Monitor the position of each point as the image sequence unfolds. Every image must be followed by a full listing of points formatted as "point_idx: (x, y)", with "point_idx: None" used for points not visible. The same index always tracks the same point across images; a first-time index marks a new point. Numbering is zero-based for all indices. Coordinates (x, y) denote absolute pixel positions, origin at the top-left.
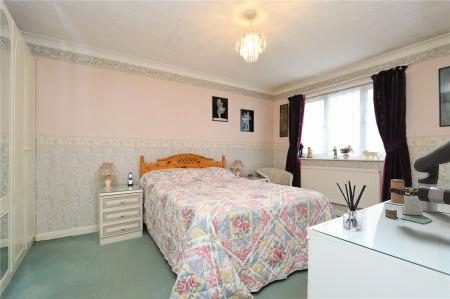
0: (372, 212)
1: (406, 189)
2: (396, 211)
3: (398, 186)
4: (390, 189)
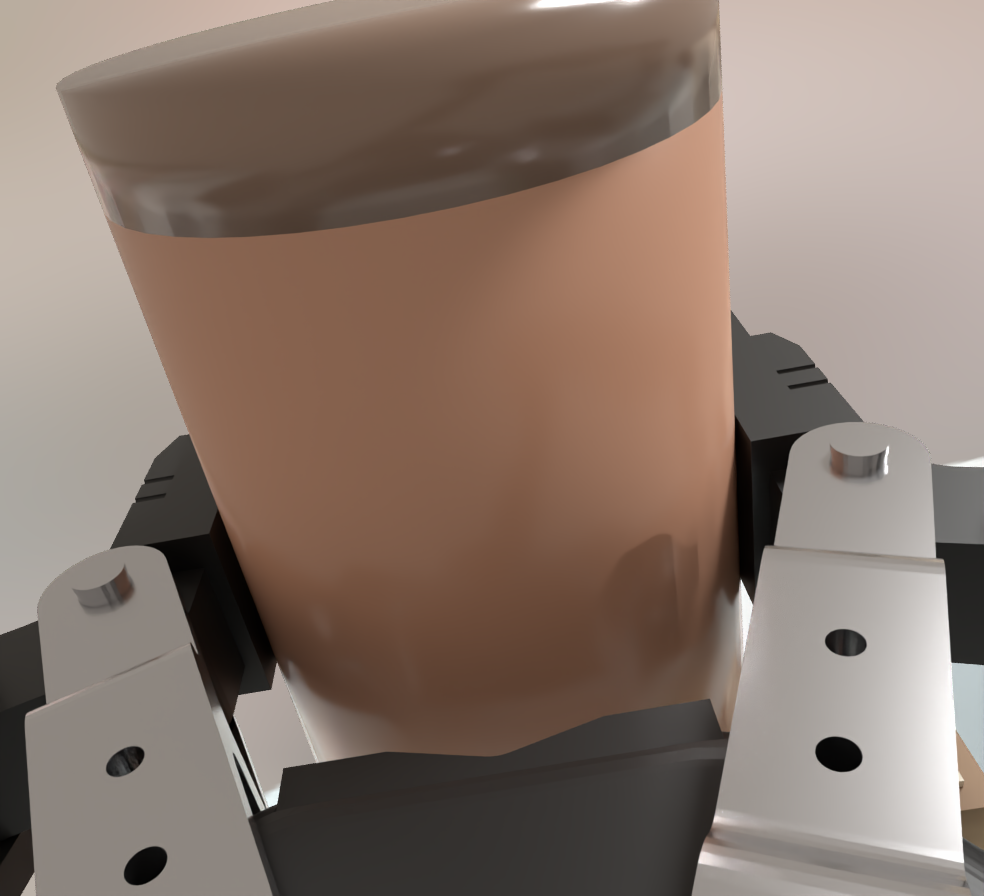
0: (744, 611)
1: (52, 863)
2: (977, 828)
3: (199, 437)
4: (166, 472)
